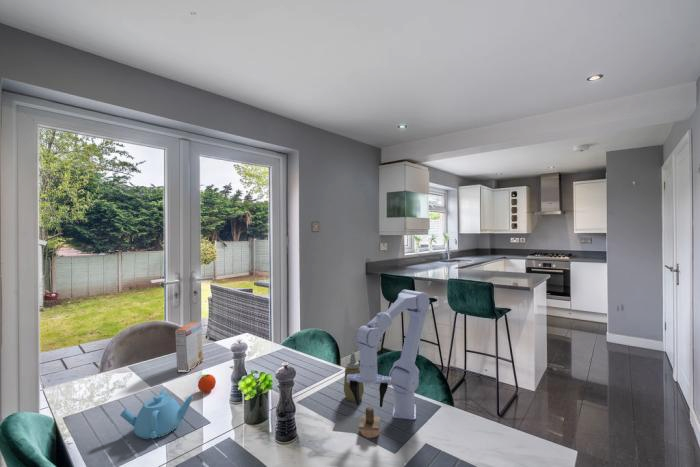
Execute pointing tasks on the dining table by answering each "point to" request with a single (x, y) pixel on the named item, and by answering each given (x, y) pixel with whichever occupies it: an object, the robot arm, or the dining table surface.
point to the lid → (369, 420)
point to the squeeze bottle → (352, 369)
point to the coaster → (347, 424)
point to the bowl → (370, 433)
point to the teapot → (157, 416)
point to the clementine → (206, 383)
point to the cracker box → (189, 345)
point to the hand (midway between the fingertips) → (369, 404)
